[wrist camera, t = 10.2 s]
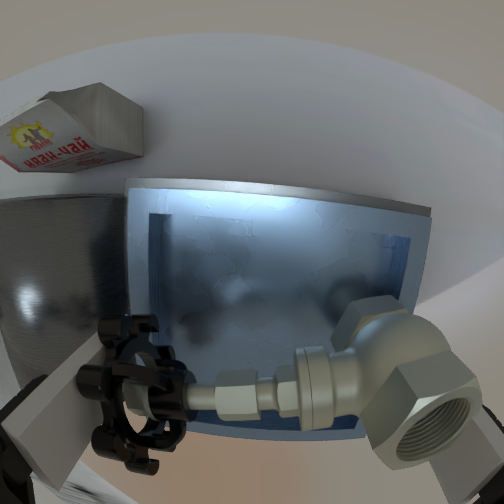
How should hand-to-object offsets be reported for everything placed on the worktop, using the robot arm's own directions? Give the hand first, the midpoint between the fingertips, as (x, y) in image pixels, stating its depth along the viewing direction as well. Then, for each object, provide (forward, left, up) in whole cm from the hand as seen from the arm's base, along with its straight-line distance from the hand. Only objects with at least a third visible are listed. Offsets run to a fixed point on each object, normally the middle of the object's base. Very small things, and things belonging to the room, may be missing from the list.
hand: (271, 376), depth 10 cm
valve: (+1, 0, -2) cm, 2 cm away
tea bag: (-13, +10, -10) cm, 19 cm away
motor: (-5, -1, -9) cm, 11 cm away
